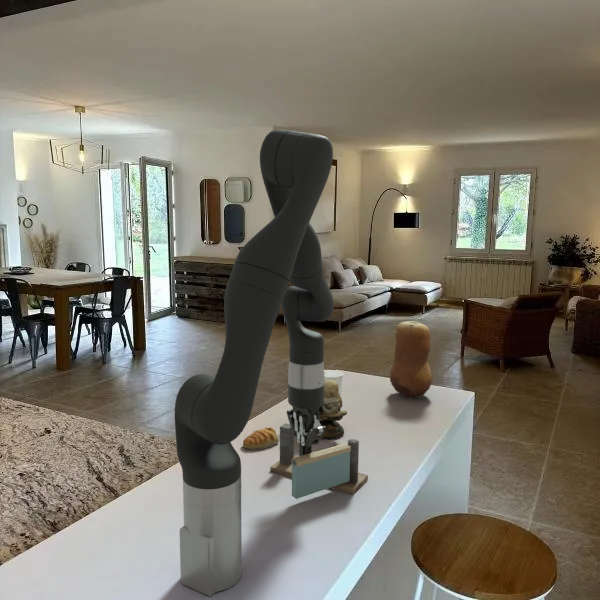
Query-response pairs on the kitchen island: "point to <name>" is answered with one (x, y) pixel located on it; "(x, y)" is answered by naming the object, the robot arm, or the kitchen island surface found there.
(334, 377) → the white cup
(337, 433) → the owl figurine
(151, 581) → the kitchen island surface
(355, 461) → the gate frame
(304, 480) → the gate panel
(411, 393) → the butternut squash
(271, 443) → the pastry
